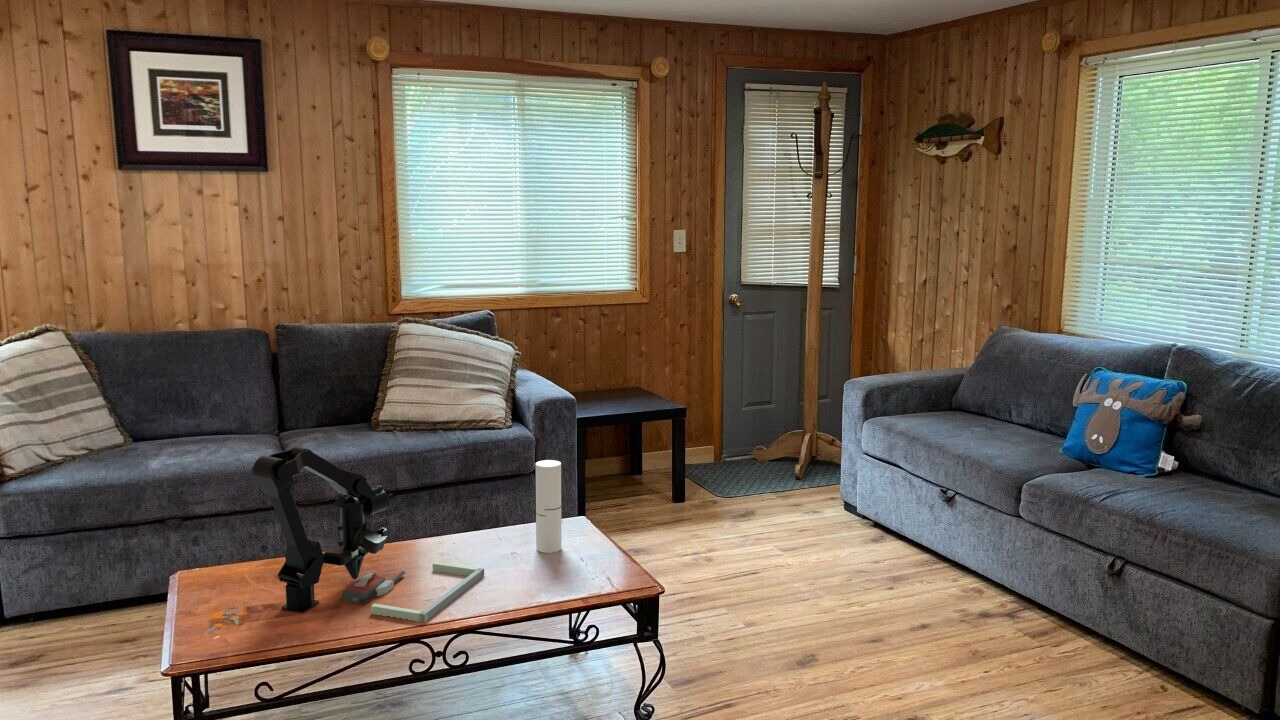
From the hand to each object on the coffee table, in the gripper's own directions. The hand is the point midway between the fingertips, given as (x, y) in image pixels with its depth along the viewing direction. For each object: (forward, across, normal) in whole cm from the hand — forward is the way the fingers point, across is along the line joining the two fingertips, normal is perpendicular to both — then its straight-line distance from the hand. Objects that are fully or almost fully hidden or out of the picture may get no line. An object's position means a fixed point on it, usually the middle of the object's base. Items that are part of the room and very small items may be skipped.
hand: (355, 578), depth 247 cm
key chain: (+2, -29, +16) cm, 33 cm away
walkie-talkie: (+2, -2, -7) cm, 8 cm away
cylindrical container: (+1, +39, -38) cm, 54 cm away
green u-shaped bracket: (+1, 0, -22) cm, 22 cm away
